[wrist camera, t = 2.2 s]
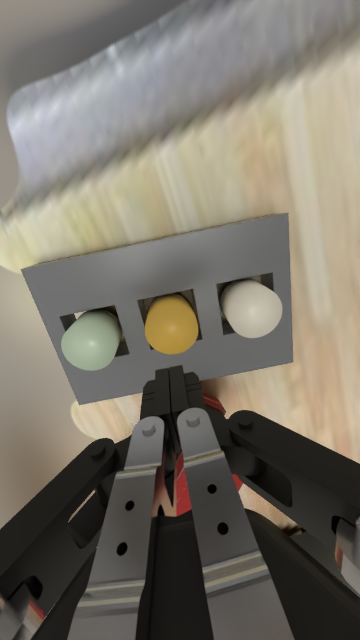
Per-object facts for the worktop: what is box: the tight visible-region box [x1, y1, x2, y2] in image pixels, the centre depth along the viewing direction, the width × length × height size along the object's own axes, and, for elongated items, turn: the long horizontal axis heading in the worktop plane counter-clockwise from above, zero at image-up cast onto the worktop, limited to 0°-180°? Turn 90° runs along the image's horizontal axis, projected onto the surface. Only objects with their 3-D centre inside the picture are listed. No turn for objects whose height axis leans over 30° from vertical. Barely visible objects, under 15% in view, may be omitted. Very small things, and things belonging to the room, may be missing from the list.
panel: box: [21, 213, 293, 405], centre depth 24 cm, size 22×14×3 cm, turn 101°
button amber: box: [145, 294, 198, 354], centre depth 22 cm, size 4×4×4 cm
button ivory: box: [220, 278, 282, 338], centre depth 22 cm, size 4×4×4 cm
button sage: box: [61, 309, 122, 371], centre depth 22 cm, size 4×4×4 cm
